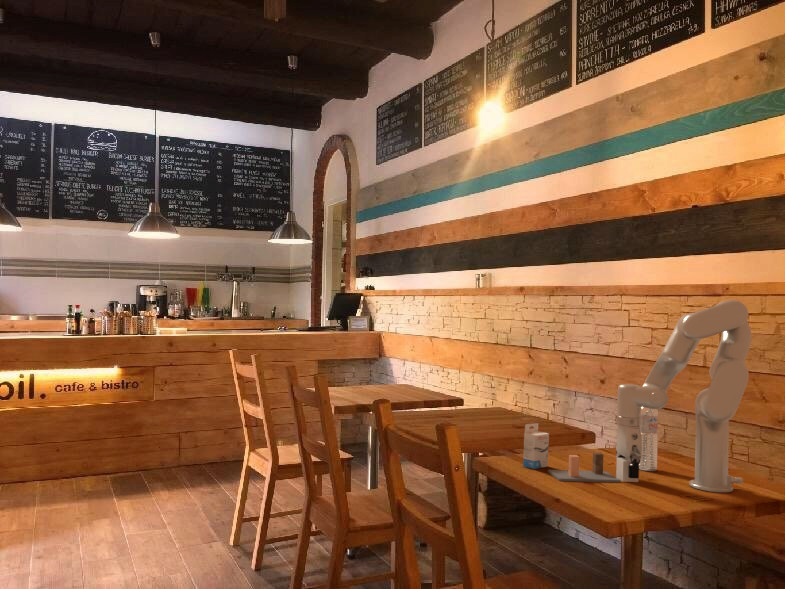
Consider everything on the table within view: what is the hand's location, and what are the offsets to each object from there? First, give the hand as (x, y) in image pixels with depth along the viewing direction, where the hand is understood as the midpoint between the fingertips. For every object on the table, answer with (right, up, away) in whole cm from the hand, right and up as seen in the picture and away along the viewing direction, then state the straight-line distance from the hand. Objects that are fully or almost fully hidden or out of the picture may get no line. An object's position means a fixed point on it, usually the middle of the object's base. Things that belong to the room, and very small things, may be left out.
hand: (627, 474), depth 215 cm
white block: (0, -2, 0) cm, 2 cm away
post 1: (-18, -1, -1) cm, 18 cm away
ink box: (-27, -1, +14) cm, 31 cm away
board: (-14, -1, +1) cm, 14 cm away
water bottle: (+13, -3, +17) cm, 21 cm away
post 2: (-8, -2, +4) cm, 10 cm away
